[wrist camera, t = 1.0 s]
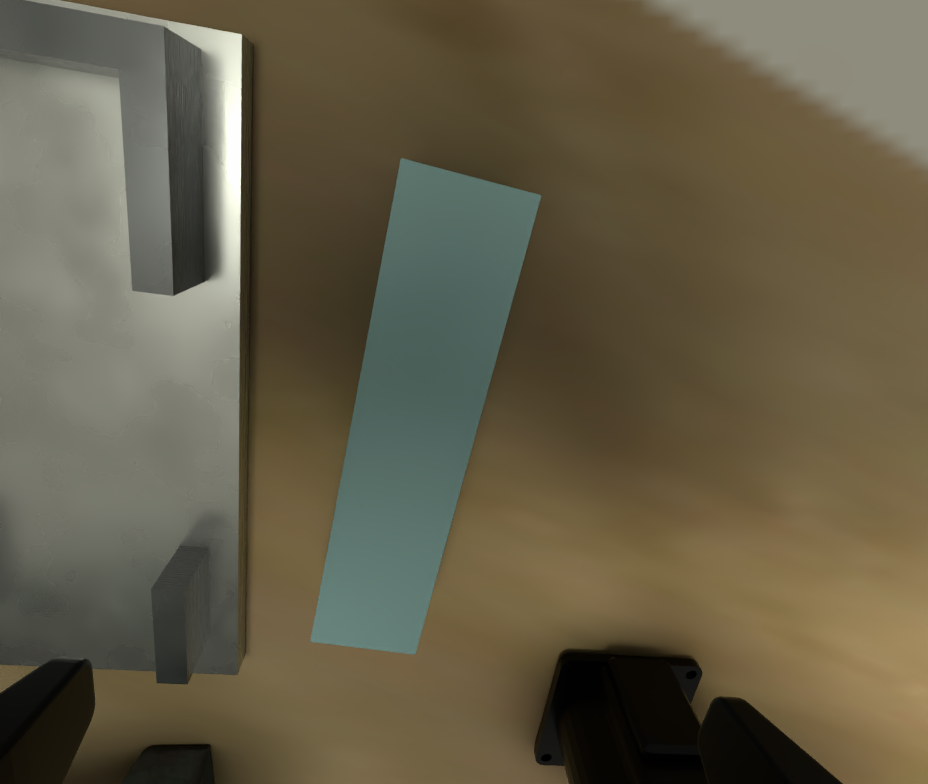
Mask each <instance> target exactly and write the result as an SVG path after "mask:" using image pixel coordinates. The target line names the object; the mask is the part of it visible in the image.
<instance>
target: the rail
mask: <svg viewBox="0 0 928 784" xmlns="http://www.w3.org/2000/svg"><path fill="white" fill-rule="evenodd" d="M540 199H541V195H538V194H535V193H531V192H527V191H523V190H520V189H516V188H512V187H508V186H504V185H501V184H497V183H493V182H489V181H486V180H482V179H478V178H474V177H471V176H467V175H463V174H459V173H455V172H452V171H448V170H444V169H440V168H437V167H433V166H429V165H425V164H422V163H418V162H414V161H410V160H406V159H403V158H401V160H400V166H399V171H398V176H397V182H396V187H395V192H394V198H393V203H392V208H391V214H390V219H389V224H388V230H387V235H386V240H385V246H384V251H383V256H382V262H381V267H380V272H379V278H378V283H377V288H376V294H375V299H374V304H373V310H372V315H371V320H370V326H369V331H368V336H367V342H366V347H365V352H364V358H363V363H362V368H361V374H360V379H359V385H358V390H357V395H356V401H355V406H354V411H353V417H352V422H351V427H350V433H349V438H348V443H347V449H346V454H345V459H344V465H343V470H342V475H341V481H340V486H339V491H338V497H337V502H336V507H335V513H334V518H333V523H332V529H331V534H330V539H329V545H328V550H327V555H326V561H325V566H324V571H323V577H322V582H321V587H320V593H319V598H318V603H317V609H316V614H315V619H314V625H313V630H312V636H311V641H310V642H316V643H325V644H333V645H341V646H349V647H357V648H366V649H374V650H382V651H390V652H399V653H407V654H416V650H417V646H418V643H419V639H420V635H421V632H422V628H423V625H424V621H425V617H426V614H427V610H428V606H429V603H430V599H431V595H432V592H433V588H434V585H435V581H436V577H437V574H438V570H439V566H440V563H441V559H442V555H443V552H444V548H445V545H446V541H447V537H448V534H449V530H450V526H451V523H452V519H453V515H454V512H455V508H456V505H457V501H458V497H459V494H460V490H461V486H462V483H463V479H464V475H465V472H466V468H467V465H468V461H469V457H470V454H471V450H472V446H473V443H474V439H475V435H476V432H477V428H478V424H479V421H480V417H481V414H482V410H483V406H484V403H485V399H486V395H487V392H488V388H489V384H490V381H491V377H492V374H493V370H494V366H495V363H496V359H497V355H498V352H499V348H500V344H501V341H502V337H503V334H504V330H505V326H506V323H507V319H508V315H509V312H510V308H511V304H512V301H513V297H514V294H515V290H516V286H517V283H518V279H519V275H520V272H521V268H522V264H523V261H524V257H525V253H526V250H527V246H528V243H529V239H530V235H531V232H532V228H533V224H534V221H535V217H536V213H537V210H538V206H539V203H540Z"/></svg>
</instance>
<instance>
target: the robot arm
mask: <svg viewBox="0 0 928 784" xmlns="http://www.w3.org/2000/svg"><path fill="white" fill-rule="evenodd" d="M569 665H571V666H569ZM701 676H702V670H701V668H700V667H699V665H698V663H697V662H696V661H695V660H692V659H681V658H662V657H643V656H625V655H606V654H588V653H567V654H564V655H563V656H562V657H560V659H559V661H558V665H557V669H556V672H555V676H554V680H553V683H552V687H551V690H550V694H549V698H548V701H547V705H546V708H545V712H544V716H543V719H542V723H541V726H540V730H539V734H538V737H537V741H536V745H535V748H534V753H535V758H536V761H537V763H539V764H541V765H558V766H565V770H566V774H567V778H568V782H569V784H843V783H841V782H840V781H839V780H838V779H837V778H836V777H834V776H833V775H832V774H831V773H830V772H829V771H827V770H826V769H825V768H824V767H823V766H822V765H820V764H819V763H818V762H817V761H816V760H815V759H813V758H812V757H811V756H810V755H809V754H807V753H806V752H805V751H804V750H803V749H802V748H800V747H799V746H798V745H797V744H796V743H795V742H793V741H792V740H791V739H790V738H789V737H788V736H786V735H785V734H784V733H783V732H782V731H781V730H779V729H778V728H777V727H776V726H775V725H774V724H772V723H771V722H770V721H769V720H768V719H767V718H765V717H764V716H763V715H762V714H761V713H760V712H758V711H757V710H756V709H755V708H754V707H752V706H751V705H750V704H749V703H748V702H746V701H745V700H743V699H741V698H736V697H716V698H715V699H714V700H713V701H712V702H711V704H710V707H709V709H708V711H707V714H706V716H705V718H704V721H703V723H702V725H701V723H700V721H699V719H698V718H697V716H696V714H695V712H694V710H693V708H692V706H691V701H692V699H693V696H694V694H695V691H696V689H697V686H698V684H699V681H700V679H701ZM94 709H95V693H94V682H93V671H92V664H91V662H90V661H89V660H88V659H86V658H78V657H56V658H53V659H51V660H49V661H47V662H46V663H44V664H43V665H41V666H40V667H38V668H37V669H35V670H34V671H32V672H31V673H29V674H28V675H26V676H25V677H23V678H22V679H20V680H19V681H17V682H16V683H14V684H13V685H11V686H10V687H8V688H7V689H6V690H4V691H3V692H1V693H0V784H62V783H63V781H64V779H65V776H66V774H67V772H68V770H69V768H70V766H71V763H72V761H73V759H74V757H75V755H76V753H77V750H78V748H79V746H80V744H81V742H82V740H83V737H84V735H85V733H86V731H87V729H88V727H89V724H90V722H91V719H92V716H93V713H94Z"/></svg>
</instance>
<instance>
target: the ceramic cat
mask: <svg viewBox="0 0 928 784" xmlns="http://www.w3.org/2000/svg"><path fill="white" fill-rule="evenodd" d="M122 784H214V779H213V771H212V763H211V754H210V746H153V747H151V748H149V749H146V750H144V751H143V752H142V753H141V755H140V756H139V758H138V759H137V761H136V762H135V764H134V766H133V767H132V769H131V770H130V772H129V773H128V775H127V777H126V778H125V780H124V781H123V783H122Z"/></svg>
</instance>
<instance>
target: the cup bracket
mask: <svg viewBox="0 0 928 784" xmlns="http://www.w3.org/2000/svg"><path fill="white" fill-rule="evenodd" d="M252 71H253V44H252V43H251V42H250V41H249V40H248V39H246V38H245V37H244V36H243V35H242V34H236V33H231V32H226V31H220V30H215V29H210V28H205V27H199V26H194V25H189V24H183V23H178V22H173V21H167V20H162V19H157V18H151V17H146V16H141V15H135V14H130V13H125V12H119V11H114V10H109V9H103V8H98V7H93V6H87V5H82V4H77V3H71V2H66V1H61V0H0V664H1V665H24V666H41V665H43V664H44V663H46V662H47V661H49V660H51V659H53V658H56V657H78V658H86V659H88V660H89V661H90V662H91V664H92V669H113V670H135V671H156V678H157V683H168V684H188V682H189V680H190V678H191V676H192V674H193V673H203V674H225V675H238V672H239V670H240V667H241V664H242V662H243V659H244V656H245V619H246V541H247V462H248V384H249V306H250V227H251V149H252Z"/></svg>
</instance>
